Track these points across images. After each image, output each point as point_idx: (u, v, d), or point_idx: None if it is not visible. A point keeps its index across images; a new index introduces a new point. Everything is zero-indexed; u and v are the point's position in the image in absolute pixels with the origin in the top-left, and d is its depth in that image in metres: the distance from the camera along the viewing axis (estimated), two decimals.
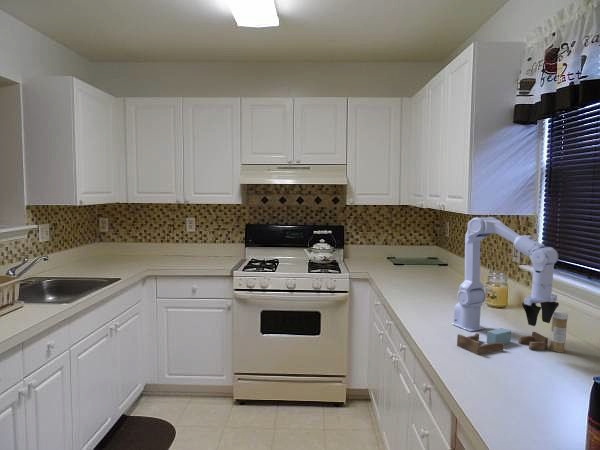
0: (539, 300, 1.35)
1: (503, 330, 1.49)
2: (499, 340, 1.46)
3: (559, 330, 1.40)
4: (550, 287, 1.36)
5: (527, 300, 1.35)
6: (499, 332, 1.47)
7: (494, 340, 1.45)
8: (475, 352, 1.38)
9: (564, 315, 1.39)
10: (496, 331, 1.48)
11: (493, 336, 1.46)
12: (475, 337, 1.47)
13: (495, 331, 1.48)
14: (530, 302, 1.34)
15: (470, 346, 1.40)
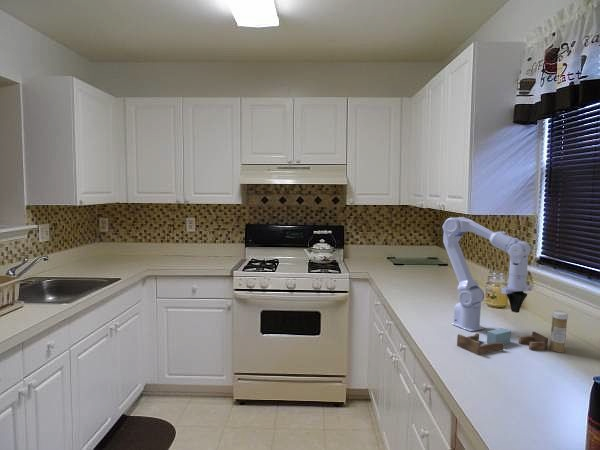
0: (514, 290, 1.47)
1: (503, 330, 1.49)
2: (499, 340, 1.46)
3: (559, 330, 1.40)
4: (525, 278, 1.47)
5: (503, 290, 1.47)
6: (499, 332, 1.47)
7: (494, 340, 1.45)
8: (475, 352, 1.38)
9: (564, 315, 1.39)
10: (496, 331, 1.48)
11: (493, 336, 1.46)
12: (475, 337, 1.47)
13: (495, 331, 1.48)
14: (506, 291, 1.46)
15: (470, 346, 1.40)
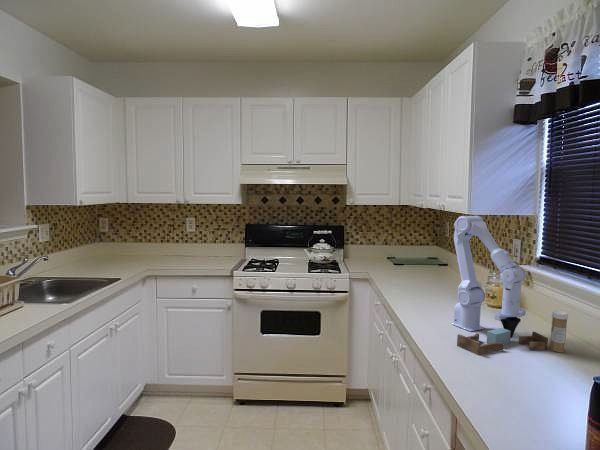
0: (508, 315, 1.46)
1: (502, 330, 1.49)
2: (499, 340, 1.46)
3: (559, 330, 1.40)
4: (518, 303, 1.47)
5: (497, 315, 1.46)
6: (499, 332, 1.47)
7: (494, 340, 1.45)
8: (475, 352, 1.38)
9: (564, 315, 1.39)
10: (496, 331, 1.47)
11: (493, 336, 1.45)
12: (475, 337, 1.47)
13: (495, 331, 1.47)
14: (499, 317, 1.46)
15: (470, 346, 1.40)
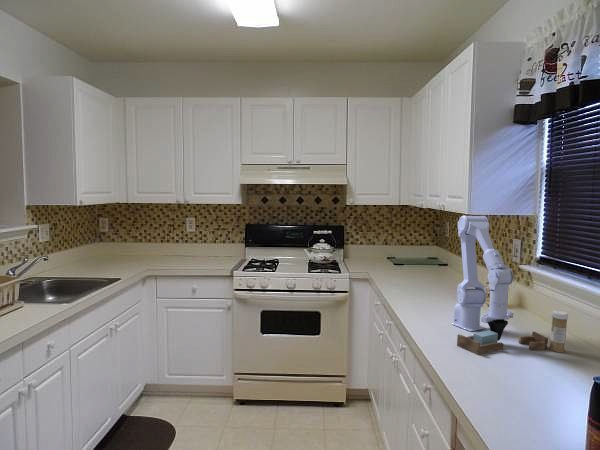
0: (495, 318, 1.43)
1: (489, 332, 1.45)
2: (485, 343, 1.43)
3: (559, 330, 1.40)
4: (505, 305, 1.44)
5: (483, 318, 1.43)
6: (485, 334, 1.43)
7: (480, 343, 1.42)
8: (475, 352, 1.38)
9: (564, 315, 1.39)
10: (482, 333, 1.44)
11: (479, 338, 1.42)
12: None
13: (481, 333, 1.44)
14: (486, 320, 1.43)
15: (470, 346, 1.40)
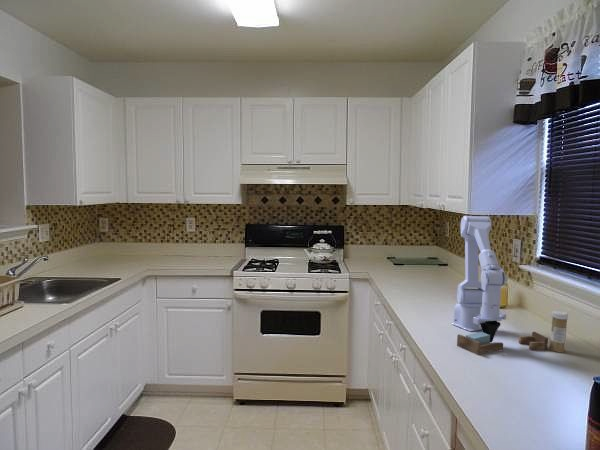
0: (487, 319, 1.42)
1: (482, 334, 1.44)
2: None
3: (559, 330, 1.40)
4: (498, 307, 1.42)
5: (475, 319, 1.41)
6: (478, 336, 1.42)
7: None
8: (475, 352, 1.38)
9: (564, 315, 1.39)
10: (475, 335, 1.43)
11: None
12: None
13: (474, 335, 1.42)
14: (478, 321, 1.41)
15: (470, 346, 1.40)
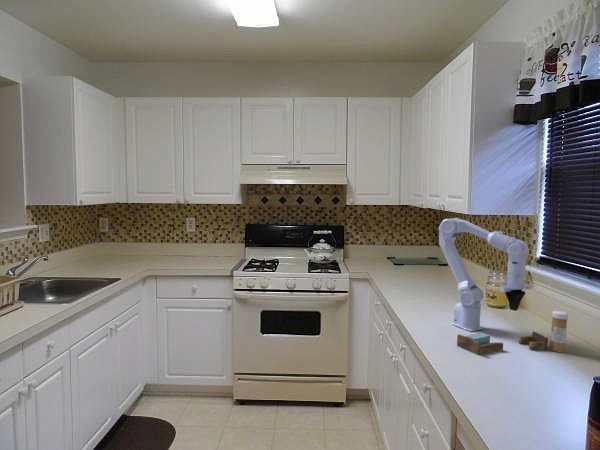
0: (513, 288, 1.49)
1: (482, 335, 1.44)
2: None
3: (559, 330, 1.40)
4: (523, 276, 1.50)
5: (502, 288, 1.49)
6: (478, 337, 1.41)
7: None
8: (475, 352, 1.38)
9: (564, 315, 1.39)
10: (475, 336, 1.42)
11: None
12: None
13: (474, 336, 1.42)
14: (504, 290, 1.49)
15: (470, 346, 1.40)
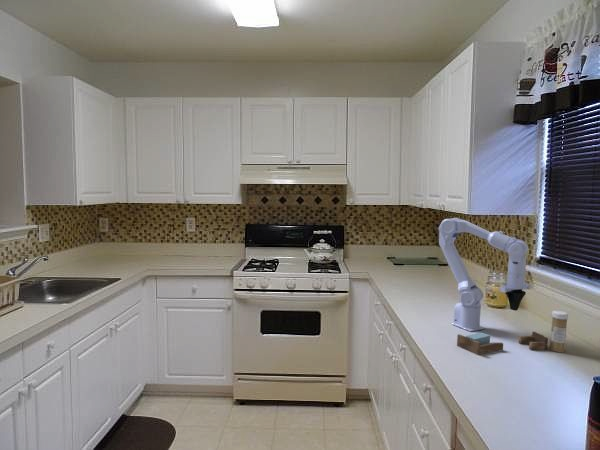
0: (513, 288, 1.49)
1: (482, 335, 1.44)
2: None
3: (559, 330, 1.40)
4: (523, 276, 1.50)
5: (502, 288, 1.49)
6: (478, 337, 1.41)
7: None
8: (475, 352, 1.38)
9: (564, 315, 1.39)
10: (475, 336, 1.42)
11: None
12: None
13: (474, 336, 1.42)
14: (505, 290, 1.49)
15: (470, 346, 1.40)
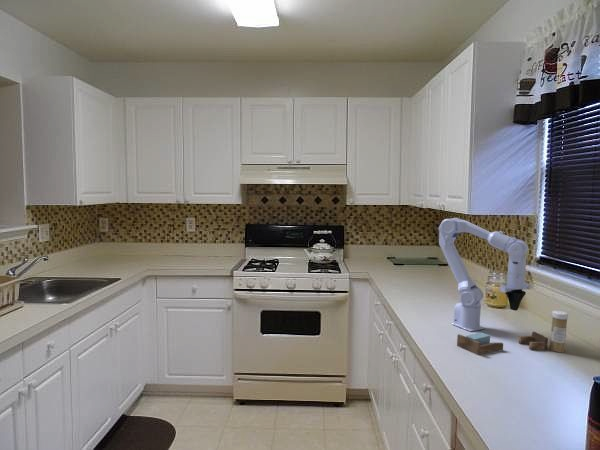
0: (513, 288, 1.49)
1: (482, 335, 1.44)
2: None
3: (559, 330, 1.40)
4: (523, 276, 1.50)
5: (502, 288, 1.49)
6: (478, 337, 1.41)
7: None
8: (475, 352, 1.38)
9: (564, 315, 1.39)
10: (475, 336, 1.42)
11: None
12: None
13: (474, 336, 1.42)
14: (505, 290, 1.49)
15: (470, 346, 1.40)
